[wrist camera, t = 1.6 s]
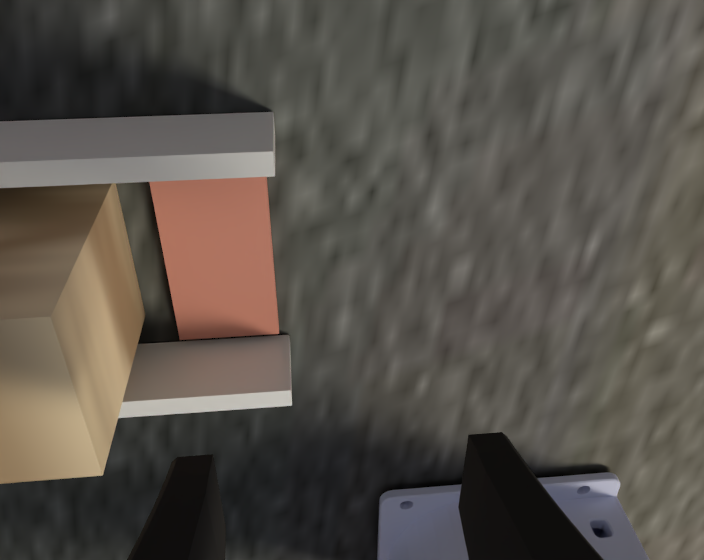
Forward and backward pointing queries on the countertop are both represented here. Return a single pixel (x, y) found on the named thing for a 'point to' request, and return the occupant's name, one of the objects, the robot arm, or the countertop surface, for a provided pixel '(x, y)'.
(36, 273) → the maple block
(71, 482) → the countertop surface
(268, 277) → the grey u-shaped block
